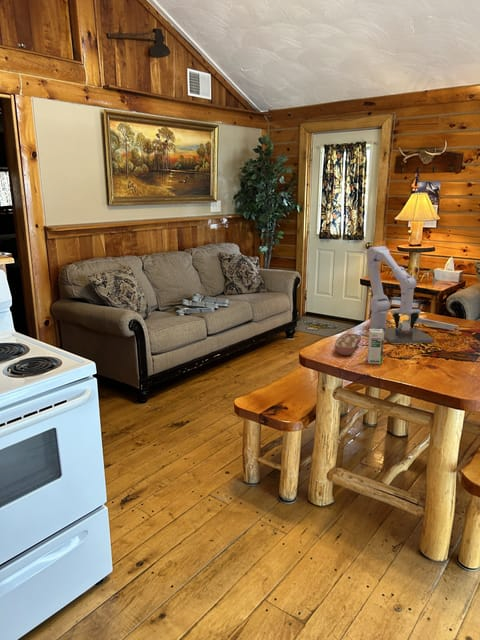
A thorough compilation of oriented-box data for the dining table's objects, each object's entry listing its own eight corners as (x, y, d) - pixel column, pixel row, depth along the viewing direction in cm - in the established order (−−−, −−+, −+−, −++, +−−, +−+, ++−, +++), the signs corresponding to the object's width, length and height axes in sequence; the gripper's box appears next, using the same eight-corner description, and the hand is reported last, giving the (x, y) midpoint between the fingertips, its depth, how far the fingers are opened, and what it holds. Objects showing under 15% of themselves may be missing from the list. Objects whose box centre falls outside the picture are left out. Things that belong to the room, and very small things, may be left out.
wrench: (457, 336, 259) (399, 324, 269) (457, 335, 260) (399, 323, 271) (460, 322, 256) (402, 310, 267) (460, 321, 258) (402, 309, 269)
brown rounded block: (352, 359, 216) (353, 348, 215) (330, 356, 220) (331, 345, 219) (362, 344, 237) (363, 334, 235) (342, 342, 240) (342, 332, 239)
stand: (375, 330, 259) (375, 324, 258) (415, 330, 260) (416, 323, 259) (390, 343, 238) (390, 336, 237) (434, 342, 239) (434, 335, 238)
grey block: (398, 332, 250) (399, 322, 249) (406, 332, 251) (407, 322, 249) (401, 334, 246) (402, 324, 245) (409, 334, 247) (410, 324, 245)
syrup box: (368, 363, 210) (370, 331, 206) (367, 359, 216) (369, 327, 212) (382, 364, 210) (384, 332, 206) (380, 359, 215) (382, 328, 211)
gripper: (395, 303, 240) (393, 330, 243) (424, 303, 241) (421, 329, 244) (390, 300, 247) (388, 326, 250) (418, 300, 247) (415, 325, 251)
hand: (404, 327), depth 248 cm, fingers open, 7 cm apart
